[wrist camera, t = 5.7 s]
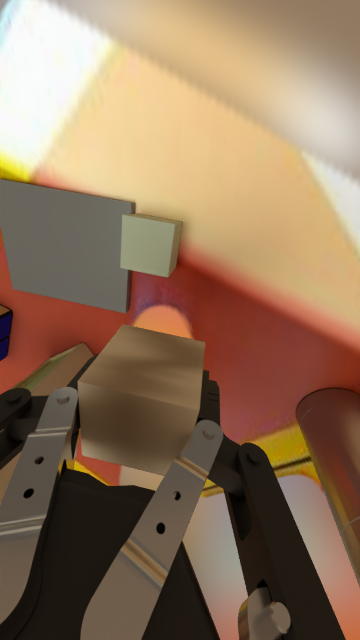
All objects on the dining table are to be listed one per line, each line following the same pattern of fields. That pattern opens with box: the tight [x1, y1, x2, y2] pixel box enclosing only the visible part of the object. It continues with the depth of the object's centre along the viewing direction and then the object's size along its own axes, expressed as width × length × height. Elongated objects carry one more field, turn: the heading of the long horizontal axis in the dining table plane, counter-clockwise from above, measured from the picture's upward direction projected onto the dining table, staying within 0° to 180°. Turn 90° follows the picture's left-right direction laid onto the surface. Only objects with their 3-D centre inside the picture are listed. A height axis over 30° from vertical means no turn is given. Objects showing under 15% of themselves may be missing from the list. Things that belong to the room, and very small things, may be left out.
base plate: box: [0, 179, 135, 313], centre depth 28 cm, size 16×13×1 cm
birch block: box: [78, 324, 205, 476], centre depth 12 cm, size 5×5×5 cm
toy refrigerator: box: [0, 343, 94, 504], centre depth 27 cm, size 8×7×21 cm
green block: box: [120, 214, 183, 277], centre depth 24 cm, size 5×5×5 cm
